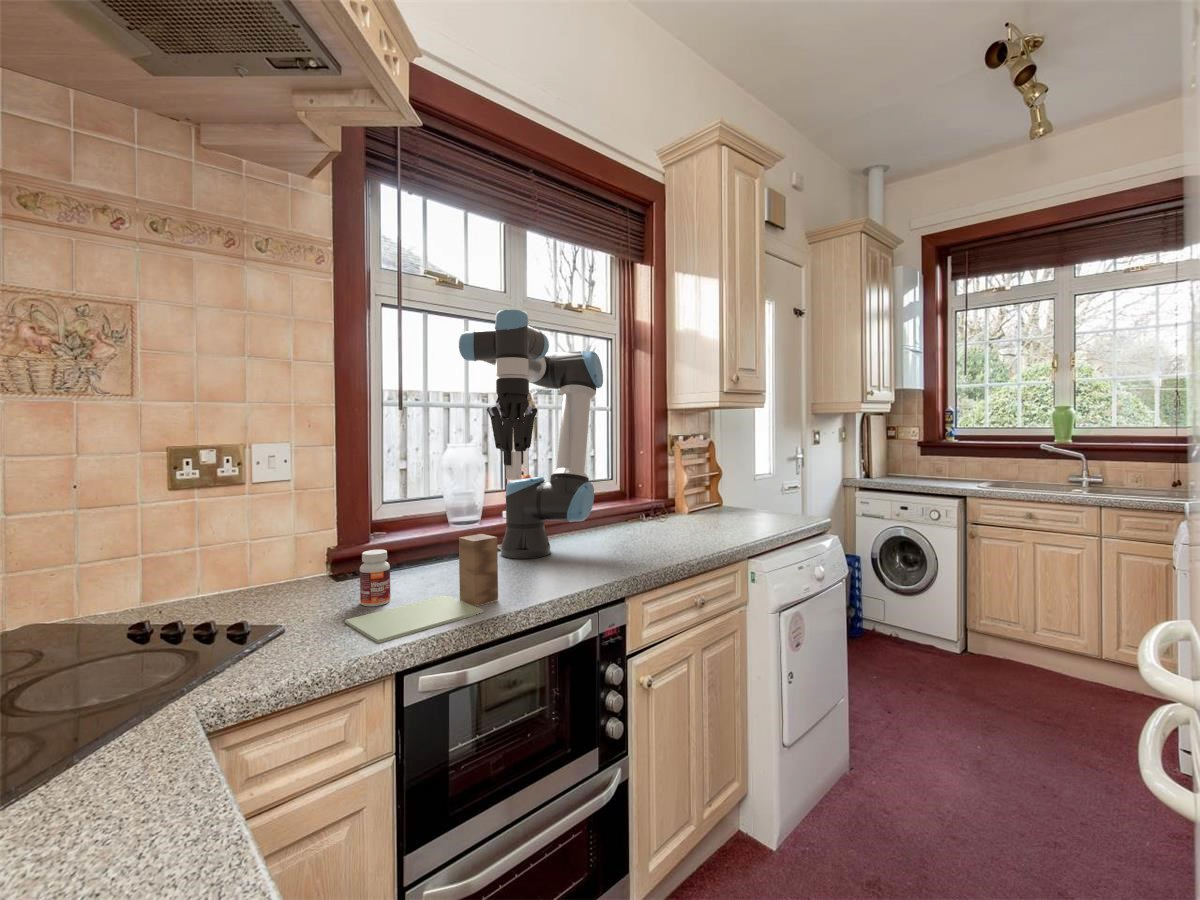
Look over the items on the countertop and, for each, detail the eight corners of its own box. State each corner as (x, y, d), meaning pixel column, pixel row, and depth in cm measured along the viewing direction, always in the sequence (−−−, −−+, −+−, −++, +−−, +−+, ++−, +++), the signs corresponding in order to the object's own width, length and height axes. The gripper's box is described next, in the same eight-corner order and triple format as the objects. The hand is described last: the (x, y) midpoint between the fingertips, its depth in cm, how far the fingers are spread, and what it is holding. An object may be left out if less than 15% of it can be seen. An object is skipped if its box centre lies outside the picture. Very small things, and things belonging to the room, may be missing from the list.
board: (445, 597, 123) (445, 594, 123) (482, 612, 112) (482, 609, 112) (345, 622, 107) (345, 619, 107) (378, 643, 97) (378, 639, 97)
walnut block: (482, 594, 125) (481, 533, 124) (498, 600, 121) (497, 537, 120) (459, 600, 120) (458, 537, 120) (474, 606, 116) (473, 541, 116)
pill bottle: (372, 609, 115) (371, 556, 115) (354, 604, 118) (353, 553, 118) (396, 601, 121) (395, 550, 120) (378, 597, 124) (377, 547, 123)
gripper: (526, 381, 133) (527, 476, 134) (477, 377, 123) (479, 480, 124) (546, 378, 128) (547, 478, 129) (497, 374, 118) (498, 482, 119)
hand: (513, 479), depth 127 cm, fingers closed
